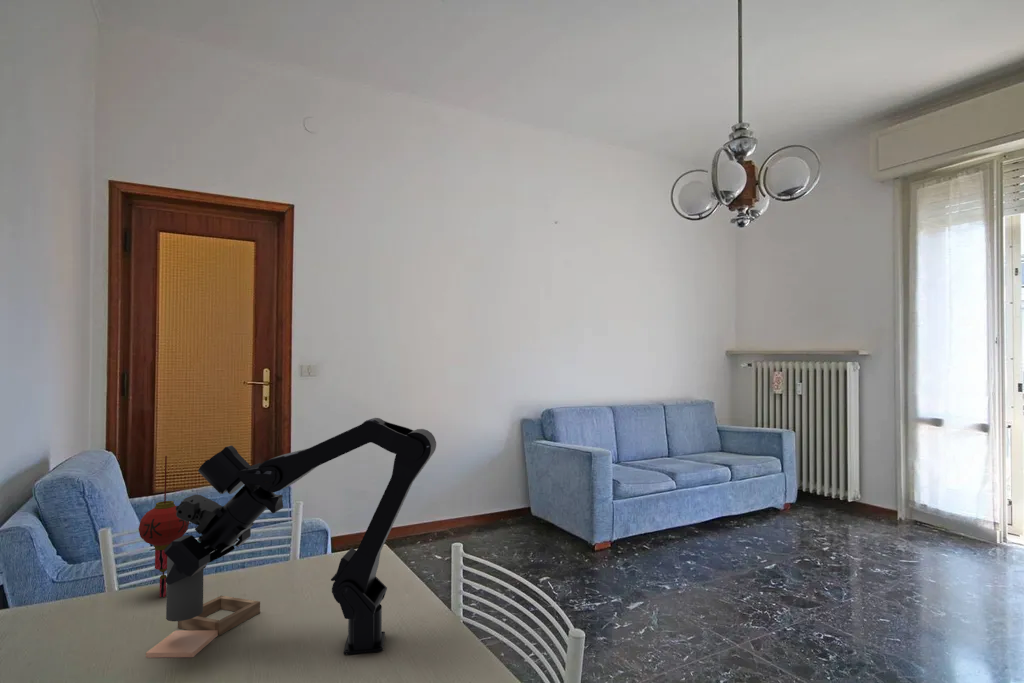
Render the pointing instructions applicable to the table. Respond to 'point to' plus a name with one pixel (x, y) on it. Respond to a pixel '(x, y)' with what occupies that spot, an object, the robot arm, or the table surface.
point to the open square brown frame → (242, 613)
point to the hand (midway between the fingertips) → (177, 576)
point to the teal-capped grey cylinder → (184, 596)
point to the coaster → (182, 644)
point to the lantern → (162, 532)
